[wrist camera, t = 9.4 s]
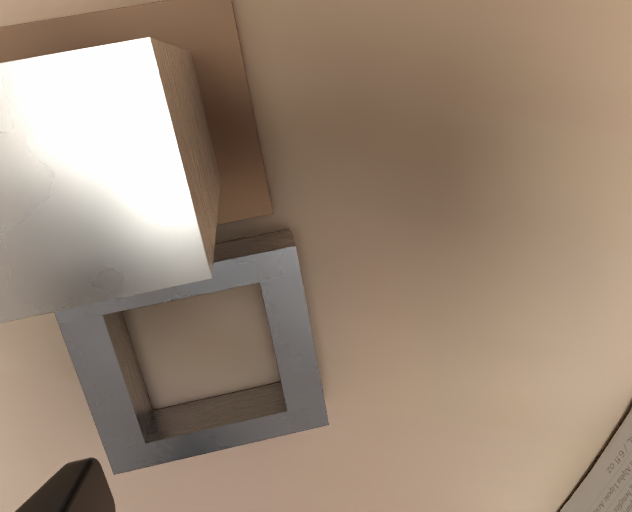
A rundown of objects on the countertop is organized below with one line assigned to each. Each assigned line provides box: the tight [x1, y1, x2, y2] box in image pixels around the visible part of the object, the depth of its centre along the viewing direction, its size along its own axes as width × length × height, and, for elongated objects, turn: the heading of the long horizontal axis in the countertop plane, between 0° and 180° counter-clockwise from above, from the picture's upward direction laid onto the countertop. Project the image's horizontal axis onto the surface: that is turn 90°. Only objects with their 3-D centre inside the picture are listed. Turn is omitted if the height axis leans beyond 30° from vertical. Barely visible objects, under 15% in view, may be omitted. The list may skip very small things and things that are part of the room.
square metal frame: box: [54, 229, 329, 475], centre depth 20 cm, size 7×8×2 cm
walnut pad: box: [0, 0, 273, 225], centre depth 17 cm, size 7×7×1 cm
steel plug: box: [0, 37, 221, 323], centre depth 13 cm, size 4×4×9 cm
